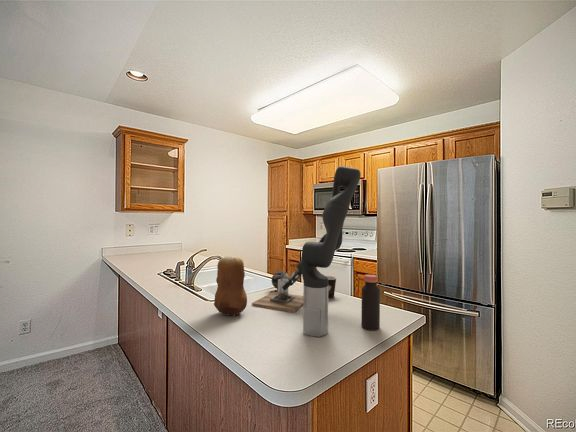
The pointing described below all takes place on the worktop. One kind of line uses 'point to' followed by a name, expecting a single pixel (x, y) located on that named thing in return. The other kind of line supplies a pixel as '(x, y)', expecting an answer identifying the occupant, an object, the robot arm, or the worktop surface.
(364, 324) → the bottle
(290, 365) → the worktop surface
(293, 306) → the pocket base
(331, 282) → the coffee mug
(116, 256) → the worktop surface
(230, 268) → the butternut squash
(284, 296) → the steel hub
